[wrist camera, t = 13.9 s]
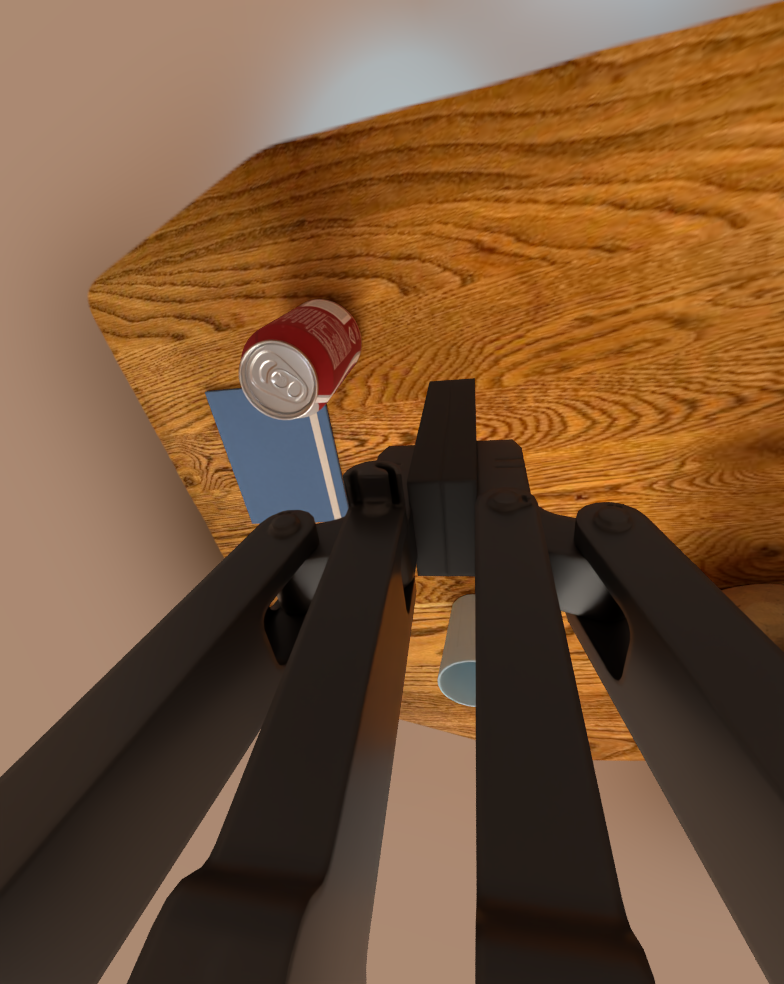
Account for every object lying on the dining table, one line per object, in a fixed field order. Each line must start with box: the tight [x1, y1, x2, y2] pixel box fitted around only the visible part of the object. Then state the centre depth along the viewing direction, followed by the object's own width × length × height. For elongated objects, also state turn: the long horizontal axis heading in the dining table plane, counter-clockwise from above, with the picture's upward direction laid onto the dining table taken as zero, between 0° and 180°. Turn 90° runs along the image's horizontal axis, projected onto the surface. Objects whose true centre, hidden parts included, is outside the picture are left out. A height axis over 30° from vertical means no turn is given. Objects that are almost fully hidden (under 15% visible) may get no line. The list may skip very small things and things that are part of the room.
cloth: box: [205, 388, 349, 524], centre depth 48 cm, size 16×12×1 cm
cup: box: [438, 594, 476, 707], centre depth 51 cm, size 8×8×10 cm
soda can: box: [239, 299, 362, 420], centre depth 35 cm, size 7×7×12 cm
